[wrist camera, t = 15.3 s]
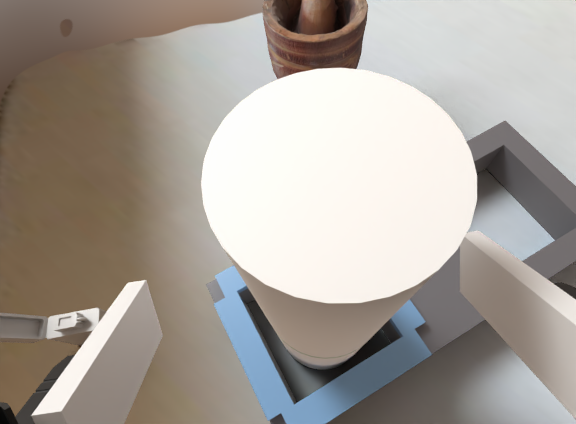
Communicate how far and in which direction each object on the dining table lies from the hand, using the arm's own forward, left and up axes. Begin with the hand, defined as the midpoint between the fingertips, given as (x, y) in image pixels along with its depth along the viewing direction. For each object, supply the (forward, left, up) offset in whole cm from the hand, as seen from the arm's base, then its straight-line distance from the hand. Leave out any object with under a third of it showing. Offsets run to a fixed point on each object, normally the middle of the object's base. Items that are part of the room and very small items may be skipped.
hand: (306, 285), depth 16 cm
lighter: (+18, +9, -18) cm, 27 cm away
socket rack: (-5, -9, -18) cm, 21 cm away
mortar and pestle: (+11, -23, -18) cm, 32 cm away
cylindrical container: (0, -1, -18) cm, 18 cm away
